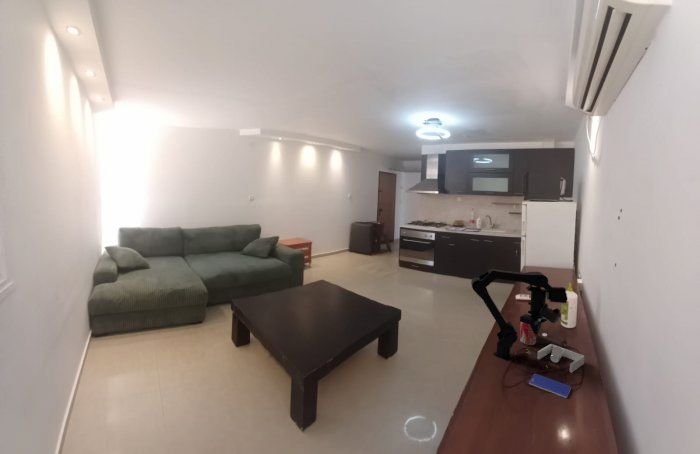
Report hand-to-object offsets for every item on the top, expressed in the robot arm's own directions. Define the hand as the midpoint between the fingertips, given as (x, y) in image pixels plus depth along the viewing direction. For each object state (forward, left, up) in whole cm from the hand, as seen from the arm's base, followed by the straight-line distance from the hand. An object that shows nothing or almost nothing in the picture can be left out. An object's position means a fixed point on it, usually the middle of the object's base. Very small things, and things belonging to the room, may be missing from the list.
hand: (536, 334), depth 137 cm
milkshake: (+4, -6, -10) cm, 13 cm away
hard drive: (-15, -13, -13) cm, 24 cm away
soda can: (+14, +10, -12) cm, 21 cm away
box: (+8, -7, -12) cm, 16 cm away
